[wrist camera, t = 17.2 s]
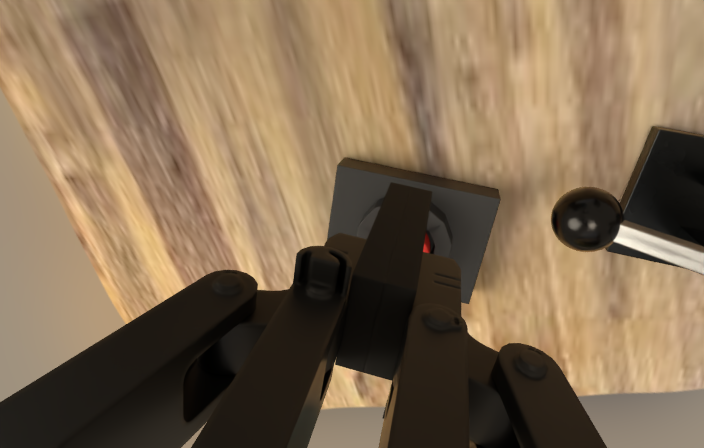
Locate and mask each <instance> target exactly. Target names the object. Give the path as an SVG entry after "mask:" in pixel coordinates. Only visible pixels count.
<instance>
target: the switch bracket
mask: <svg viewBox="0 0 704 448" xmlns="http://www.w3.org/2000/svg"><path fill="white" fill-rule="evenodd" d="M620 205H621V207H622V209H623V213H624V220H627V221H629V222H632V223H635V224H638V225H641V226H644V227H647V228H650V229H653V230H656V231H659V232H662V233H665V234H668V235H671V236H674V237H677V238H680V239H683V240H686V241H689V242H692V243H695V244H698V245H701V246H703V247H704V135H700V134H695V133H689V132H684V131H678V130H673V129H667V128H661V127H656V126H653V127H652V129H651V131H650V134H649V136H648V138H647V141H646V143H645V146H644V148H643V150H642V153H641V155H640V157H639V160H638V162H637V164H636V167H635V169H634V172H633V174H632V176H631V179H630V181H629V183H628V186H627V188H626V190H625V193H624V195H623V197H622V200H621V202H620ZM605 249H606V250H607V251H608V252H613V253H617V254H622V255H627V256H631V257H636V258H640V259H645V260H649V261H654V262H659V263H663V264H668V265H672V266H677V267H680V266H678V265H675V264H672V263H669V262H667V261H664V260H661V259H658V258H656V257H653V256H650V255H648V254H645V253H642V252H639V251H637V250H634V249H631V248H628V247H626V246H623V245H620V244H617V243H615V242H613V243H612V244H611V245H609V246H608V247H606V248H605ZM682 268H683V267H682Z"/></svg>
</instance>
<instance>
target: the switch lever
mask: <svg viewBox="0 0 704 448" xmlns="http://www.w3.org/2000/svg"><path fill="white" fill-rule="evenodd" d="M551 224H552V229H553V231H554V234H555V235H556V237H557V238H558V239H559V240H560V241H561V242H562V243H563V244H564V245H565V246H567V247H569V248H571V249H573V250H576V251H581V252H594V251H598V250H602V249H604V248H606V247H608V246H609V245H611V244H612V243H613V242H615V243H617V244H620V245H623V246H626V247H628V248H631V249H634V250H637V251H639V252H642V253H645V254H648V255H650V256H653V257H656V258H658V259H661V260H664V261H667V262H669V263H672V264H675V265H678V266H680V267H683V268H686V269H688V270H691V271H694V272H697V273H699V274H702V275H704V247H703V246H701V245H698V244H695V243H692V242H689V241H686V240H683V239H680V238H677V237H674V236H671V235H668V234H665V233H662V232H659V231H656V230H653V229H650V228H647V227H644V226H641V225H638V224H635V223H632V222H629V221H627V220H624V213H623V209H622V207H621V205H620V203H619V202H618V200H617V199H616V198H615V197H614V196H613V195H611V194H610V193H609V192H607V191H605V190H602V189H599V188H595V187H580V188H576V189H573V190H571V191H569V192H567V193H566V194H564V195H563V196H562V197H561V198H560V199H559V200H558V201H557V202H556V204H555V206H554V208H553V210H552V214H551Z"/></svg>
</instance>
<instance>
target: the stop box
mask: <svg viewBox="0 0 704 448" xmlns="http://www.w3.org/2000/svg"><path fill="white" fill-rule="evenodd" d="M391 182H393V183H397V184H402V185H406V186H411V187H415V188H420V189H424V190H428V191H432V198H431V204H430V210H429V217H428V223H427V230H426V233H427V235H428V237H429V240H430V254H435V255H439V256H443V257H447V258H451V259H454V260H455V261H456V263H457V264H458V266H459V267H460V269H461V302H462V303H467V304H469V302H470V299H471V295H472V292H473V289H474V285H475V282H476V279H477V275H478V272H479V269H480V266H481V262H482V259H483V256H484V252H485V249H486V246H487V243H488V239H489V236H490V233H491V229H492V226H493V223H494V220H495V216H496V213H497V210H498V206H499V203H500V200H501V199H500V195H499V190H498V189H493V188H488V187H483V186H479V185H474V184H469V183H464V182H459V181H454V180H450V179H445V178H440V177H435V176H430V175H425V174H421V173H416V172H411V171H406V170H401V169H396V168H392V167H387V166H382V165H377V164H372V163H367V162H363V161H358V160H353V159H348V158H344V159H343V160H342V161H341V162H340V163H339V164H338V165H337V172H336V180H335V187H334V194H333V201H332V209H331V216H330V223H329V230H328V238H327V240H328V239H329V238H330V237H332V236H334V235H336V234H338V233H343V234H347V235H352V236H356V237H360V238H364V239H367V238H368V236H369V233H370V231H371V229H372V226H373V224H374V221H375V219H376V217H377V214H378V212H379V209H380V207H381V205H382V202H383V200H384V197H385V195H386V193H387V190H388V188H389V185H390V183H391Z"/></svg>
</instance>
